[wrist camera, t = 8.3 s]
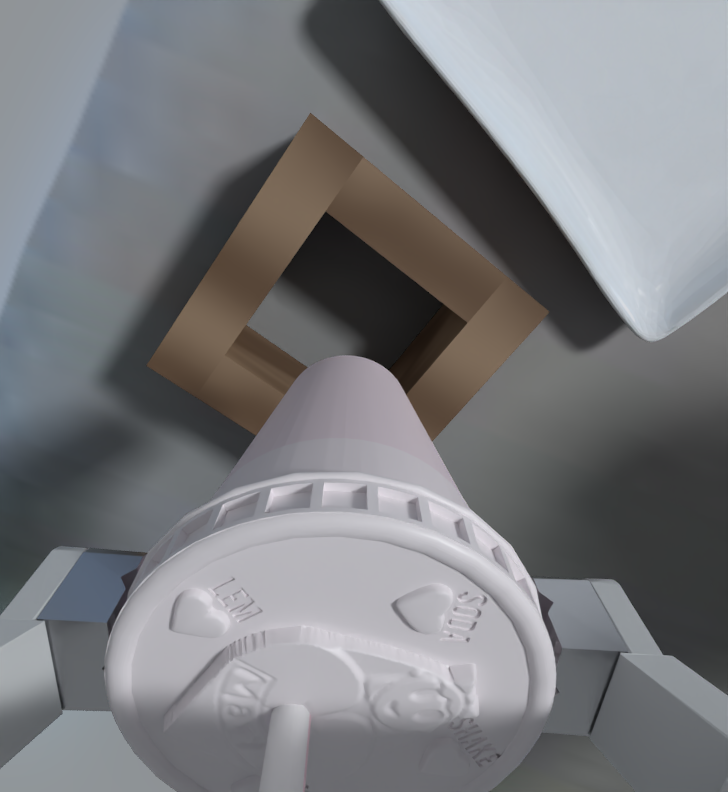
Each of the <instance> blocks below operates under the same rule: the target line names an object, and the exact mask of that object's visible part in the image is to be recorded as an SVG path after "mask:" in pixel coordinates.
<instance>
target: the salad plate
mask: <svg viewBox="0 0 728 792" xmlns="http://www.w3.org/2000/svg"><path fill="white" fill-rule="evenodd" d="M379 2H380V3H381V4H382V6H383V7H384V8H385V10H386V11H387V12H388V14H389V15H390V16H391V18H392V19H393V20H394V21H395V23H396V24H397V25H398V27H399V28H400V29H401V30H402V32H403V33H404V34H405V35H406V37H407V38H408V39H409V40H410V41H411V43H412V44H413V45H414V46H415V47H416V49H417V50H418V51H419V52H420V53H421V55H422V56H423V57H424V58H425V59H426V61H427V62H428V63H429V64H430V65H431V66H432V68H433V69H434V70H435V71H436V72H437V74H438V75H439V76H440V77H441V79H442V80H443V81H444V82H445V83H446V85H447V86H448V87H449V88H450V89H451V90H452V91H453V92H454V94H455V95H456V96H457V97H458V98H459V100H460V101H461V102H462V103H463V105H464V106H465V107H466V108H467V109H468V111H469V112H470V113H471V114H472V116H473V117H474V118H475V119H476V121H477V122H478V123H479V124H480V125H481V127H482V128H483V129H484V130H485V132H486V133H487V134H488V135H489V137H490V138H491V139H492V140H493V142H494V143H495V144H496V146H497V147H498V148H499V149H500V151H501V152H502V153H503V154H504V156H505V157H506V158H507V159H508V160H509V162H510V163H511V164H512V166H513V167H514V168H515V170H516V171H517V172H518V174H519V175H520V176H521V178H522V179H523V180H524V182H525V183H526V184H527V186H528V187H529V188H530V190H531V191H532V192H533V194H534V195H535V196H536V198H537V199H538V200H539V202H540V203H541V204H542V206H543V207H544V208H545V210H546V211H547V212H548V214H549V215H550V217H551V218H552V219H553V221H554V222H555V223H556V225H557V226H558V228H559V229H560V230H561V232H562V233H563V235H564V236H565V238H566V239H567V241H568V242H569V244H570V245H571V246H572V248H573V249H574V251H575V252H576V254H577V255H578V257H579V258H580V260H581V261H582V263H583V265H584V266H585V268H586V269H587V271H588V272H589V274H590V275H591V277H592V278H593V280H594V281H595V283H596V284H597V286H598V287H599V289H600V290H601V292H602V293H603V295H604V296H605V297H606V299H607V300H608V302H609V303H610V304H611V306H612V307H613V308H614V310H615V311H616V312H617V314H618V315H619V316H620V317H621V319H622V320H623V321H624V323H625V324H626V325H627V326H628V327H629V328H630V330H631V331H632V332H633V333H634V334H635V335H636V336H638V337H639V338H641V339H643V340H645V341H647V342H655V341H658V340H661V339H662V338H664V337H666V336H668V335H669V334H671V333H673V332H674V331H675V330H677V329H678V328H680V327H681V326H683V325H684V324H686V323H687V322H688V321H690V320H691V319H693V318H694V317H695V316H697V315H698V314H699V313H701V312H702V311H703V310H705V309H706V308H707V307H709V306H710V305H711V304H713V303H714V302H716V301H717V300H718V299H719V298H721V297H722V296H723V295H724V294H726V293H727V292H728V0H379Z"/></svg>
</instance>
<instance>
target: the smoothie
mask: <svg viewBox="0 0 728 792" xmlns="http://www.w3.org/2000/svg"><path fill="white" fill-rule="evenodd" d="M104 677H105V686H106V693H107V697H108V701H109V705H110V708H111V711H112V713H113V716H114V719H115V721H116V723H117V725H118V727H119V729H120V731H121V733H122V734H123V736H124V738H125V739H126V741H127V742H128V744H129V745H130V747H131V748H132V750H133V752H134V753H135V754H136V755H137V756H138V757H139V758H140V759H141V760H142V761H143V762H144V764H145V765H146V766H147V767H148V768H149V769H150V770H151V771H152V772H153V773H154V774H155V775H156V776H157V777H158V778H159V779H160V780H162V781H163V782H164V783H166V784H167V785H169V786H170V787H171V788H173V789H174V790H175V791H177V792H489V791H490V790H492V789H493V788H495V787H496V786H497V785H498V784H499V783H500V782H501V781H502V780H504V779H505V778H506V777H507V776H508V775H509V774H510V773H511V772H512V771H513V770H514V769H515V768H516V767H518V766H519V765H520V764H521V762H522V761H523V759H524V758H525V757H526V755H527V754H528V753H529V752H530V750H531V749H532V748H533V746H534V745H535V743H536V741H537V740H538V738H539V737H540V735H541V733H542V731H543V729H544V727H545V725H546V723H547V720H548V717H549V714H550V712H551V709H552V705H553V700H554V695H555V689H556V664H555V656H554V651H553V647H552V642H551V640H550V637H549V634H548V631H547V629H546V626H545V623H544V621H543V619H542V614H541V609H540V604H539V599H538V594H537V589H536V586H535V584H534V582H533V581H532V579H531V577H530V576H529V574H528V572H527V571H526V569H525V567H524V566H523V564H522V562H521V561H520V559H519V557H518V556H517V554H516V552H515V551H514V549H513V547H512V546H511V545H510V544H509V543H508V542H507V541H506V540H505V539H504V538H503V537H501V536H500V535H499V534H498V533H497V532H496V531H495V530H494V529H492V528H491V527H490V526H489V525H488V524H487V523H486V522H484V521H483V520H482V519H481V518H480V517H479V516H478V515H477V514H475V513H474V512H473V511H472V510H470V508H469V506H468V505H467V503H466V501H465V500H464V499H463V497H462V495H461V494H460V492H459V490H458V488H457V486H456V484H455V483H454V481H453V479H452V477H451V475H450V474H449V472H448V470H447V468H446V466H445V465H444V463H443V461H442V459H441V457H440V455H439V454H438V452H437V450H436V448H435V446H434V445H433V443H432V441H431V439H430V437H429V436H428V434H427V432H426V430H425V428H424V426H423V425H422V423H421V421H420V419H419V417H418V416H417V414H416V412H415V410H414V408H413V407H412V405H411V403H410V401H409V399H408V397H407V396H406V394H405V392H404V390H403V388H402V387H401V385H400V383H399V382H398V380H397V379H396V378H395V377H394V375H393V374H392V373H391V372H389V371H388V370H387V369H386V368H385V367H383V366H382V365H380V364H378V363H376V362H374V361H372V360H369V359H367V358H363V357H359V356H351V355H341V356H334V357H329V358H326V359H323V360H320V361H318V362H316V363H314V364H312V365H311V366H309V367H308V368H307V369H305V370H304V371H303V372H302V373H301V374H300V375H299V376H298V377H297V379H296V380H295V381H294V383H293V384H292V386H291V387H290V388H289V390H288V391H287V393H286V394H285V395H284V397H283V398H282V400H281V401H280V403H279V404H278V405H277V407H276V408H275V410H274V411H273V413H272V414H271V415H270V417H269V418H268V420H267V421H266V423H265V424H264V425H263V427H262V428H261V430H260V431H259V432H258V434H257V435H256V437H255V438H254V440H253V441H252V442H251V444H250V445H249V447H248V448H247V450H246V451H245V452H244V454H243V455H242V457H241V458H240V460H239V461H238V462H237V464H236V465H235V467H234V468H233V469H232V471H231V472H230V474H229V475H228V477H227V478H226V479H225V481H224V482H223V484H222V485H221V486H220V488H219V489H218V490H217V491H216V492H215V494H214V495H213V497H212V498H211V500H210V501H209V502H207V503H206V504H204V505H202V506H200V507H198V508H196V509H195V510H193V511H191V512H189V513H187V514H186V515H185V516H184V517H182V518H181V519H180V520H179V521H178V522H177V523H176V524H175V525H174V526H173V527H172V528H171V529H170V530H169V531H168V532H167V533H166V534H165V535H164V536H163V537H162V538H161V539H160V540H159V541H158V542H157V543H156V544H155V545H154V546H153V547H152V548H151V549H150V550H149V552H148V553H147V555H146V557H145V559H144V561H143V563H142V565H141V567H140V569H139V571H138V573H137V575H136V577H135V579H134V581H133V583H132V585H131V587H130V589H129V591H128V595H127V601H126V602H125V604H124V605H123V607H122V609H121V611H120V613H119V615H118V617H117V619H116V621H115V623H114V625H113V628H112V631H111V634H110V637H109V640H108V644H107V650H106V656H105V671H104Z"/></svg>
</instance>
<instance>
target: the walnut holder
mask: <svg viewBox="0 0 728 792" xmlns="http://www.w3.org/2000/svg"><path fill="white" fill-rule="evenodd" d="M325 211H326V212H327V213H328V214H330V215H331V216H332V217H334V218H335V219H336V220H337V221H339V222H340V223H341V224H342V225H344V226H345V227H346V228H348V229H349V230H350V231H351V232H353V233H354V234H355V235H356V236H358V237H359V238H360V239H362V240H363V241H364V242H365V243H367V244H368V245H369V246H370V247H372V248H373V249H374V250H376V251H377V252H378V253H379V254H381V255H382V256H383V257H384V258H386V259H387V260H388V261H390V262H391V263H392V264H393V265H395V266H396V267H397V268H399V269H400V270H401V271H402V272H404V273H405V274H406V275H407V276H409V277H410V278H411V279H413V280H414V281H415V282H416V283H418V284H419V285H420V286H421V287H423V288H424V289H425V290H427V291H428V292H429V293H430V294H432V295H433V296H434V297H435V298H437V299H438V300H439V301H441V302H442V303H443V306H442V307H441V308H440V309H439V310H438V312H437V313H436V314H435V315H434V316H433V318H432V319H431V320H430V321H429V322H428V324H427V325H426V326H425V327H424V328H423V330H422V331H421V332H420V333H419V335H418V336H417V337H416V338H415V339H414V341H413V342H412V343H411V344H410V345H409V347H408V348H407V349H406V350H405V351H404V353H403V354H402V355H401V356H400V357H399V359H398V360H397V361H396V362H395V363H394V365H393V366H392V367H391V368H390V370H389V372H391V373H392V374H393V375H394V377H395V378H396V379H397V380H398V382H399V383H400V385H401V387H402V388H403V390H404V392H405V394H406V396H407V397H408V399H409V401H410V403H411V405H412V407H413V408H414V410H415V412H416V414H417V416H418V417H419V419H420V421H421V423H422V425H423V426H424V428H425V430H426V432H427V434H428V436H429V437H430V439H431V441H433V440H434V439H435V438H436V437H437V436H438V435H439V433H440V432H441V431H442V430H443V429H444V428H445V427H446V426H447V425H448V424H449V422H450V421H451V420H452V419H453V418H454V417H455V416H456V415H457V414H458V412H459V411H460V410H461V409H462V408H463V407H464V406H465V405H466V404H467V403H468V401H469V400H470V399H471V398H472V397H473V396H474V395H475V394H476V393H477V392H478V390H479V389H480V388H481V387H482V386H483V385H484V384H485V383H486V382H487V381H488V379H489V378H490V377H491V376H492V375H493V374H494V373H495V372H496V371H497V369H498V368H499V367H500V366H501V365H502V364H503V363H504V362H505V361H506V360H507V358H508V357H509V356H510V355H511V354H512V353H513V352H514V351H515V350H516V349H517V347H518V346H519V345H520V344H521V343H522V342H523V341H524V340H525V339H526V338H527V336H528V335H529V334H530V333H531V332H532V331H533V330H534V329H535V328H536V327H537V325H538V324H539V323H540V322H541V321H542V320H543V319H544V318H545V317H546V315H547V314H548V313H549V311H548V310H547V309H545V308H544V307H543V306H542V305H541V304H539V303H538V302H537V301H536V300H535V299H533V298H532V297H531V296H530V295H529V294H527V293H526V292H525V291H524V290H523V289H521V288H520V287H519V286H518V285H517V284H515V283H514V282H513V281H512V280H511V279H509V278H508V277H507V276H506V275H505V274H503V273H502V272H501V271H500V270H499V269H497V268H496V267H495V266H494V265H493V264H491V263H490V262H489V261H488V260H487V259H485V258H484V257H483V256H482V255H481V254H479V253H478V252H477V251H476V250H475V249H473V248H472V247H471V246H470V245H469V244H467V243H466V242H465V241H464V240H463V239H461V238H460V237H459V236H458V235H457V234H455V233H454V232H453V231H452V230H451V229H449V228H448V227H447V226H446V225H445V224H443V223H442V222H441V221H440V220H439V219H437V218H436V217H435V216H434V215H433V214H431V213H430V212H429V211H428V210H427V209H425V208H424V207H423V206H422V205H421V204H419V203H418V202H417V201H416V200H415V199H413V198H412V197H411V196H410V195H409V194H407V193H406V192H405V191H404V190H403V189H401V188H400V187H399V186H398V185H397V184H395V183H394V182H393V181H392V180H390V179H389V178H388V177H387V176H386V175H384V174H383V173H382V172H381V171H380V170H378V169H377V168H376V167H375V166H374V165H372V164H371V163H370V162H369V161H368V160H366V159H365V158H364V157H363V156H362V155H360V154H359V153H358V152H357V151H356V150H354V149H353V148H352V147H351V146H350V145H348V144H347V143H346V142H345V141H344V140H342V139H341V138H340V137H339V136H338V135H336V134H335V133H334V132H333V131H332V130H330V129H329V128H328V127H327V126H326V125H324V124H323V123H322V122H321V121H320V120H318V119H317V118H316V117H315V116H314V115H312V114H311V113H310V114H309V116H308V117H307V119H306V120H305V122H304V123H303V125H302V127H301V128H300V130H299V131H298V133H297V134H296V136H295V137H294V139H293V140H292V142H291V144H290V145H289V147H288V148H287V150H286V151H285V153H284V154H283V156H282V157H281V159H280V160H279V162H278V164H277V165H276V167H275V168H274V170H273V171H272V173H271V174H270V176H269V177H268V179H267V180H266V182H265V184H264V185H263V187H262V188H261V190H260V191H259V193H258V194H257V196H256V197H255V199H254V201H253V202H252V204H251V205H250V207H249V208H248V210H247V211H246V213H245V214H244V216H243V217H242V219H241V221H240V222H239V224H238V225H237V227H236V228H235V230H234V231H233V233H232V234H231V236H230V238H229V239H228V241H227V242H226V244H225V245H224V247H223V248H222V250H221V251H220V253H219V254H218V256H217V258H216V259H215V261H214V262H213V264H212V265H211V267H210V268H209V270H208V271H207V273H206V275H205V276H204V278H203V279H202V281H201V282H200V284H199V285H198V287H197V288H196V290H195V291H194V293H193V295H192V296H191V298H190V299H189V301H188V302H187V304H186V305H185V307H184V308H183V310H182V311H181V313H180V315H179V316H178V318H177V319H176V321H175V322H174V324H173V325H172V327H171V328H170V330H169V332H168V333H167V335H166V336H165V338H164V339H163V341H162V342H161V344H160V345H159V347H158V348H157V350H156V352H155V353H154V355H153V356H152V358H151V359H150V361H149V362H148V364H147V365H146V366H148V367H149V368H151V369H152V370H154V371H155V372H157V373H159V374H160V375H162V376H163V377H165V378H166V379H168V380H170V381H171V382H173V383H174V384H176V385H177V386H179V387H181V388H182V389H184V390H185V391H187V392H188V393H190V394H192V395H193V396H195V397H196V398H198V399H199V400H201V401H203V402H204V403H206V404H207V405H209V406H210V407H212V408H214V409H215V410H217V411H218V412H220V413H221V414H223V415H225V416H226V417H228V418H229V419H231V420H232V421H234V422H236V423H237V424H239V425H240V426H242V427H243V428H245V429H247V430H248V431H250V432H251V433H253V434H254V435H257V434H258V432H259V431H260V430H261V428H262V427H263V425H264V424H265V423H266V421H267V420H268V418H269V417H270V415H271V414H272V413H273V411H274V410H275V408H276V407H277V405H278V404H279V403H280V401H281V400H282V398H283V397H284V395H285V394H286V393H287V391H288V390H289V388H290V387H291V386H292V384H293V383H294V381H295V380H296V379H297V377H298V376H299V375H300V374H301V373H302V372H303V371H304V370H305V369H307V367H306V366H305V365H303V364H302V363H300V362H299V361H297V360H296V359H294V358H293V357H292V356H290V355H289V354H287V353H286V352H284V351H283V350H281V349H280V348H278V347H277V346H276V345H274V344H273V343H271V342H270V341H268V340H267V339H265V338H264V337H263V336H261V335H260V334H258V333H257V332H255V331H254V330H252V329H251V328H250V327H248V326H247V325H246V324H247V323H248V321H249V320H250V318H251V317H252V315H253V314H254V313H255V311H256V310H257V308H258V307H259V305H260V304H261V303H262V301H263V300H264V298H265V297H266V295H267V294H268V293H269V291H270V290H271V288H272V287H273V285H274V284H275V283H276V281H277V280H278V278H279V277H280V275H281V274H282V273H283V271H284V270H285V268H286V267H287V265H288V264H289V263H290V261H291V260H292V258H293V257H294V255H295V254H296V253H297V251H298V250H299V248H300V247H301V245H302V244H303V243H304V241H305V240H306V238H307V237H308V235H309V234H310V233H311V231H312V230H313V228H314V227H315V225H316V224H317V223H318V221H319V220H320V218H321V217H322V215H323V214H324V213H325Z"/></svg>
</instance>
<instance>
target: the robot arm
mask: <svg viewBox="0 0 728 792" xmlns="http://www.w3.org/2000/svg"><path fill="white" fill-rule="evenodd" d="M146 555H147V553H145V552H133V551H121V550H109V549H97V548H89V549H88V548H79V547H67V546H59V547H57V548H55V549H53V550H52V551H51V552H50V553H49V554H48V556H47V557H46V558H45V559H44V561H43V562H42V563H41V564H40V566H39V567H38V568H37V570H36V571H35V572H34V573H33V575H32V576H31V577H30V578H29V580H28V581H27V582H26V583H25V585H24V586H23V587H22V588H21V590H20V591H19V592H18V593H17V595H16V596H15V597H14V599H13V600H12V601H11V602H10V604H9V605H8V606H7V607H6V609H5V610H4V611H3V612H2V614H1V615H0V768H1V767H3V766H4V765H5V764H6V763H7V762H8V761H9V760H11V759H12V758H13V757H14V756H15V755H16V754H17V753H18V752H20V751H21V750H22V749H23V748H24V747H25V746H26V745H27V744H29V743H30V742H31V741H32V740H33V739H34V738H35V737H36V736H37V735H39V734H40V733H41V732H42V731H43V730H44V729H45V728H47V727H48V726H49V725H50V724H51V723H52V722H53V721H55V720H56V719H57V718H58V717H59V716H60V715H61V714H62V710H86V711H111V708H110V705H109V701H108V697H107V693H106V686H105V677H104V671H105V656H106V650H107V644H108V640H109V637H110V634H111V631H112V628H113V625H114V623H115V621H116V619H117V617H118V615H119V613H120V611H121V609H122V607H123V605H124V604H125V602H126V601H127V595H128V591H129V589H130V587H131V585H132V583H133V581H134V579H135V577H136V575H137V573H138V571H139V569H140V567H141V565H142V563H143V561H144V559H145V557H146ZM530 577H531V579H532V581H533V582H534V584H535V586H536V589H537V594H538V599H539V604H540V609H541V614H542V619H543V621H544V623H545V626H546V629H547V631H548V634H549V637H550V640H551V642H552V647H553V651H554V656H555V664H556V689H555V695H554V700H553V705H552V709H551V712H550V714H549V717H548V720H547V723H546V725H545V727H544V729H543V731H542V732H543V733H556V734H568V735H581V736H590V738H589V739H590V740H591V741H592V743H593V744H594V745H595V746H596V747H597V748H598V749H599V750H600V752H601V753H602V754H603V755H604V756H605V757H606V758H607V760H608V761H609V762H610V763H611V764H612V765H613V766H614V768H615V769H616V770H617V771H618V772H619V773H620V774H621V775H622V777H623V778H624V779H625V780H626V781H627V782H628V783H629V785H630V786H631V787H632V788H633V789H634V790H635V791H636V792H728V695H726V694H725V693H723V692H722V691H721V690H719V689H718V688H716V687H715V686H714V685H712V684H711V683H709V682H708V681H707V680H705V679H704V678H703V677H701V676H700V675H698V674H697V673H696V672H694V671H693V670H691V669H690V668H689V667H687V666H686V665H684V664H683V663H682V662H680V661H679V660H677V659H676V658H675V657H673V656H668V655H663V654H662V652H661V651H660V649H659V647H658V646H657V644H656V643H655V641H654V639H653V638H652V636H651V635H650V633H649V631H648V630H647V628H646V626H645V625H644V623H643V622H642V620H641V618H640V617H639V615H638V613H637V612H636V610H635V609H634V607H633V605H632V604H631V602H630V601H629V599H628V597H627V596H626V594H625V592H624V591H623V589H622V588H621V586H620V584H619V583H617V582H616V581H615V580H613V579H591V578H584V579H578V578H559V577H540V576H530Z"/></svg>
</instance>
